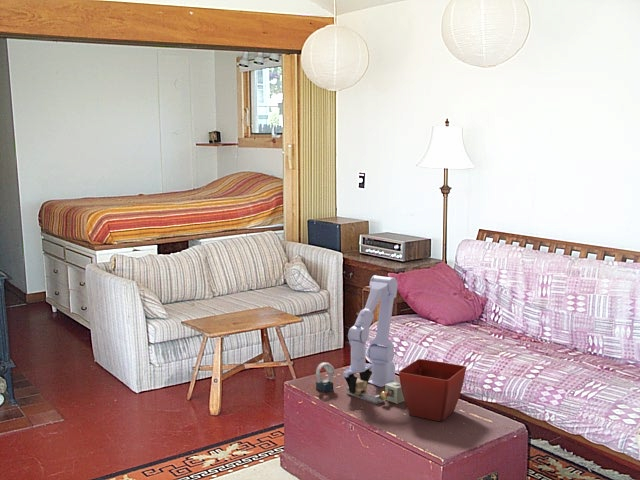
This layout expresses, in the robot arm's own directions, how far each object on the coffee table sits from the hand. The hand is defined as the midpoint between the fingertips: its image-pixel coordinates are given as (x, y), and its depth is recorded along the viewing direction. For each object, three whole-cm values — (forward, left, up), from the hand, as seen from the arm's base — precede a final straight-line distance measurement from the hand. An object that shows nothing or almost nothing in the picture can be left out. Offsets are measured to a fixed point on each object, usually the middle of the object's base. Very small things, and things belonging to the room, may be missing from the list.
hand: (358, 390), depth 286 cm
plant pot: (-6, +32, -2) cm, 32 cm away
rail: (0, +4, -2) cm, 4 cm away
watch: (+5, -14, -2) cm, 15 cm away
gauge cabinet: (-7, +14, -2) cm, 15 cm away
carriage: (0, 0, -1) cm, 1 cm away
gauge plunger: (-2, +14, 0) cm, 14 cm away
